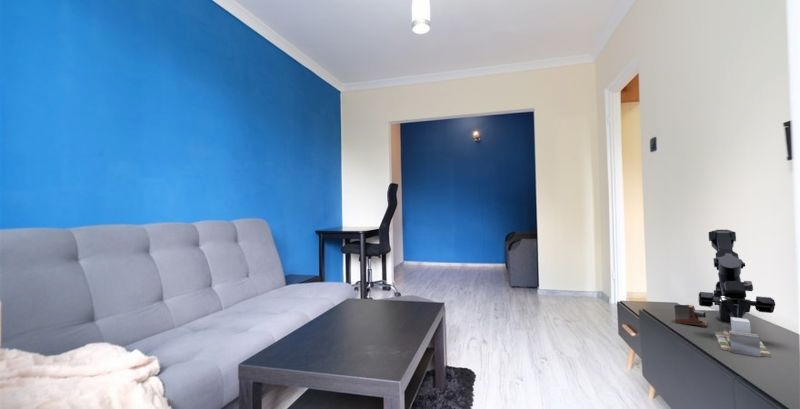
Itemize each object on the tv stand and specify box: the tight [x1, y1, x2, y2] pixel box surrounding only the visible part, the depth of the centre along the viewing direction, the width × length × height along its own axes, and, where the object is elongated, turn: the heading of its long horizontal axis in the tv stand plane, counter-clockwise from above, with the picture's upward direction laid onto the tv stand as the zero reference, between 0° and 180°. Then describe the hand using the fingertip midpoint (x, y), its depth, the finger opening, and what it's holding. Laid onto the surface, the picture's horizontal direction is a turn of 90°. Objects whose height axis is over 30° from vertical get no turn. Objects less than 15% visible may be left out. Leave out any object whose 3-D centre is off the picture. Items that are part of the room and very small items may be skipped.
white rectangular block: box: [718, 317, 752, 339], centre depth 111 cm, size 4×8×8 cm, turn 52°
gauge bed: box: [714, 328, 772, 358], centre depth 112 cm, size 17×11×6 cm, turn 142°
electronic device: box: [673, 304, 708, 328], centre depth 133 cm, size 4×10×8 cm, turn 44°
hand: (738, 323), depth 112 cm, fingers closed, pressing on white rectangular block
